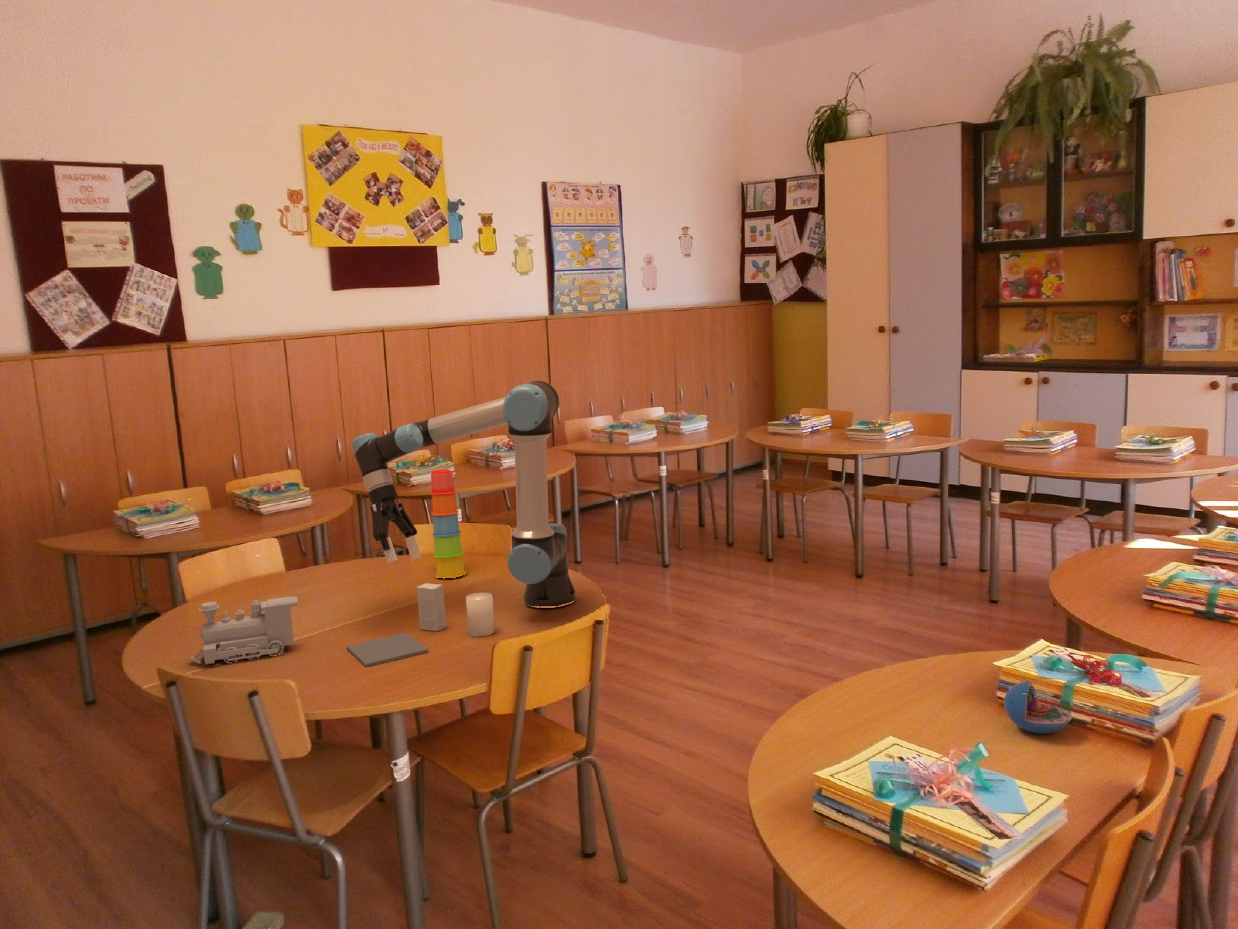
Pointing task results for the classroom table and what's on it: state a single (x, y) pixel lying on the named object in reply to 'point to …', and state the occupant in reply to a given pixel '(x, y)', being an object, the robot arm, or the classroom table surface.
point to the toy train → (247, 631)
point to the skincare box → (431, 607)
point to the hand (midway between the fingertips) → (405, 560)
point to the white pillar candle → (480, 614)
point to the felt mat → (386, 649)
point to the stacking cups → (446, 526)
